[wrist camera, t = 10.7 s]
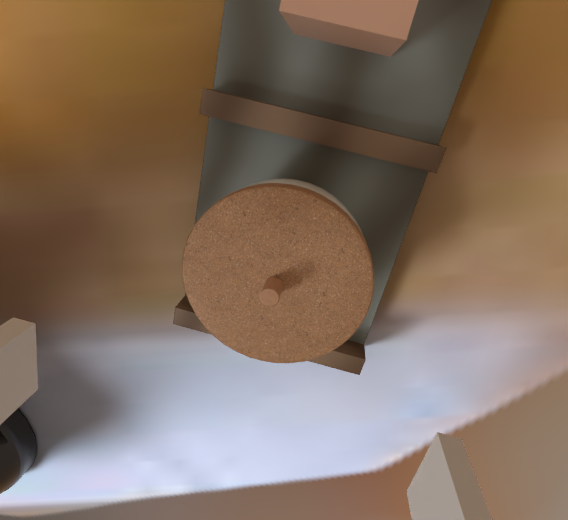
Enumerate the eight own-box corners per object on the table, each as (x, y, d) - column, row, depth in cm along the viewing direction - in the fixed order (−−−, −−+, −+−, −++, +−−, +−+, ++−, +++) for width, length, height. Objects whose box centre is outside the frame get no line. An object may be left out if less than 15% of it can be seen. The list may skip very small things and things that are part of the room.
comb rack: (189, 302, 33) (173, 323, 30) (264, -227, 20) (250, -292, 17) (357, 348, 32) (359, 374, 29) (546, -169, 19) (587, -224, 16)
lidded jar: (334, 321, 30) (332, 408, 21) (207, 277, 30) (153, 345, 21) (390, 194, 26) (415, 238, 17) (241, 143, 26) (191, 160, 17)
